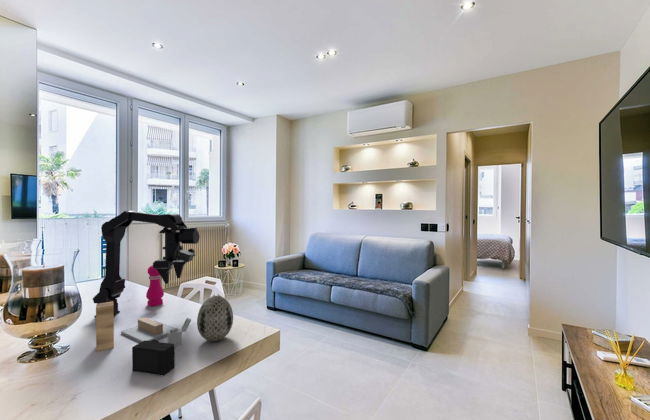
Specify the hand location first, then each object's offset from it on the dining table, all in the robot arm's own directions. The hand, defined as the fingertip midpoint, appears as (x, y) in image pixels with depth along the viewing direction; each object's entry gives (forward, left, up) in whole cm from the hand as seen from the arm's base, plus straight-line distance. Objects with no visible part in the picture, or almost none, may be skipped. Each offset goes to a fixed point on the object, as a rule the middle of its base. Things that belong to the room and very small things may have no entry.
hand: (173, 280), depth 124 cm
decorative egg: (+27, -22, -15) cm, 38 cm away
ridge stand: (+1, -17, -15) cm, 22 cm away
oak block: (-7, -28, -15) cm, 32 cm away
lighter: (+16, -25, -15) cm, 33 cm away
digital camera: (+17, -40, -15) cm, 46 cm away
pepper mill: (-16, +14, -15) cm, 26 cm away
